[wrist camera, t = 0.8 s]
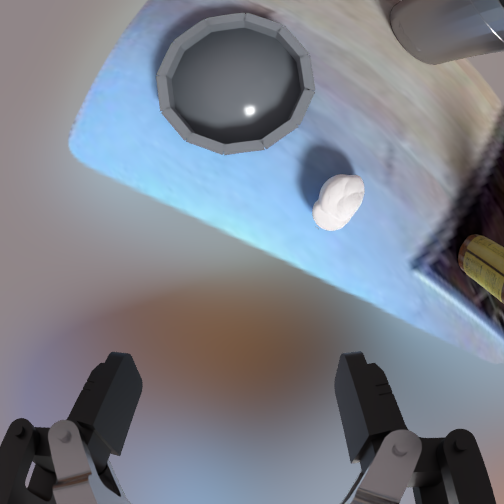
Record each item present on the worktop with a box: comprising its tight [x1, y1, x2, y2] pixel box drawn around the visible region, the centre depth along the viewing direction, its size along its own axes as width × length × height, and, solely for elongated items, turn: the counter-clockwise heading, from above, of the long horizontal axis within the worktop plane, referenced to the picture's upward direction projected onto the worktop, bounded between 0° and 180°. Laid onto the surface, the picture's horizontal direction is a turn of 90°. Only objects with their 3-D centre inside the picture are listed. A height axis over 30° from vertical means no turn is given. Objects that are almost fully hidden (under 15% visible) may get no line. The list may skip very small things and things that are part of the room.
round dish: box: [156, 12, 315, 155], centre depth 23 cm, size 15×15×3 cm
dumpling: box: [312, 174, 365, 231], centre depth 28 cm, size 7×5×4 cm
